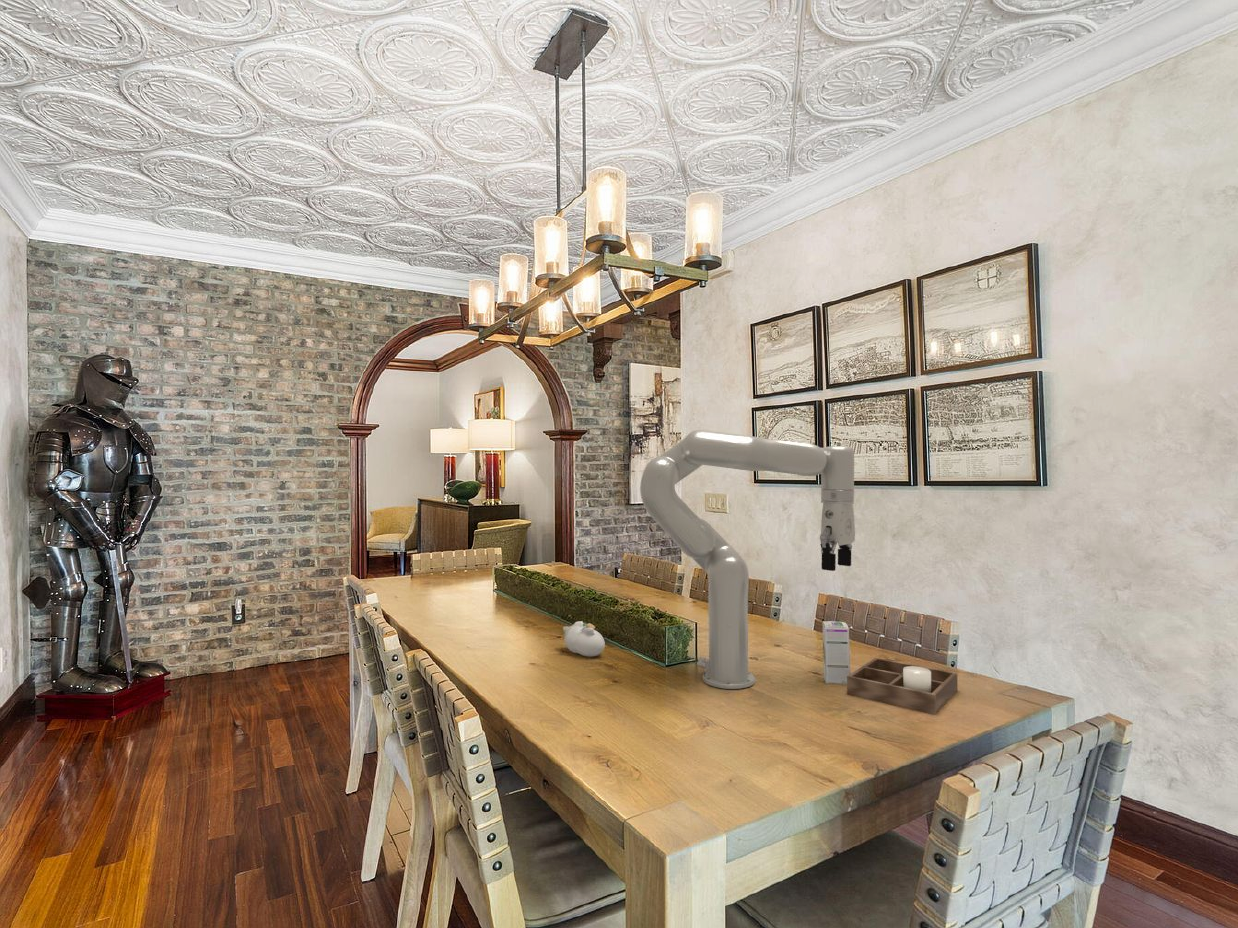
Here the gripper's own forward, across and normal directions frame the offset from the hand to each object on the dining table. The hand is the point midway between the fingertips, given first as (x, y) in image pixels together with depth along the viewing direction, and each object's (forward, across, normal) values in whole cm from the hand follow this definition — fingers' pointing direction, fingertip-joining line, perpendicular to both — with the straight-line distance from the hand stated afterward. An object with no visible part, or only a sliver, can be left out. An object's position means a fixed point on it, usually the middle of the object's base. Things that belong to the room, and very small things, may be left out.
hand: (836, 567), depth 154 cm
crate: (+28, +1, -15) cm, 32 cm away
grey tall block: (+28, 0, 0) cm, 28 cm away
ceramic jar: (+27, -3, -20) cm, 33 cm away
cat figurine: (+30, -21, +65) cm, 74 cm away
